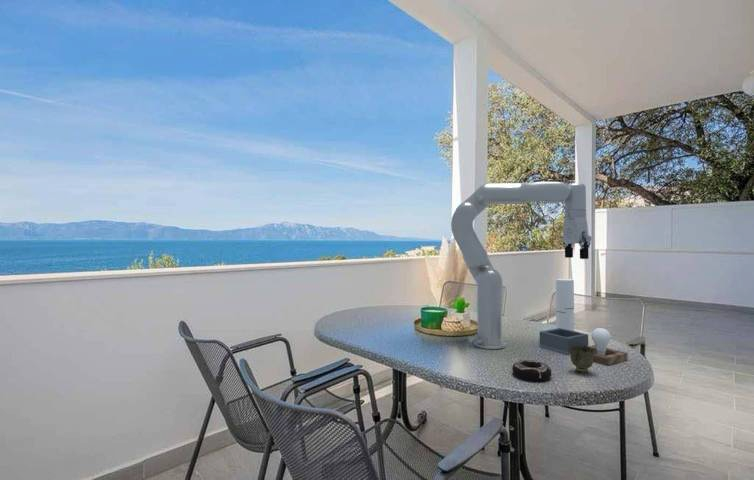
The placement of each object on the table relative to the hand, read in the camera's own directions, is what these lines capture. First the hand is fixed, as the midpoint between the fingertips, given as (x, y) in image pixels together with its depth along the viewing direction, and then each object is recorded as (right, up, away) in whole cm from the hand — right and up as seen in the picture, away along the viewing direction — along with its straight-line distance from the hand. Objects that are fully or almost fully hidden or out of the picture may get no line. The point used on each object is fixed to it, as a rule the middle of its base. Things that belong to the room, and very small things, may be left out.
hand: (576, 258), depth 155 cm
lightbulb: (+2, -36, -13) cm, 38 cm away
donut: (-29, -37, -30) cm, 56 cm away
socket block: (+2, -36, -13) cm, 38 cm away
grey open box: (-5, -36, 0) cm, 36 cm away
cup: (-12, -36, -27) cm, 46 cm away
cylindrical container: (+5, -36, +19) cm, 41 cm away
